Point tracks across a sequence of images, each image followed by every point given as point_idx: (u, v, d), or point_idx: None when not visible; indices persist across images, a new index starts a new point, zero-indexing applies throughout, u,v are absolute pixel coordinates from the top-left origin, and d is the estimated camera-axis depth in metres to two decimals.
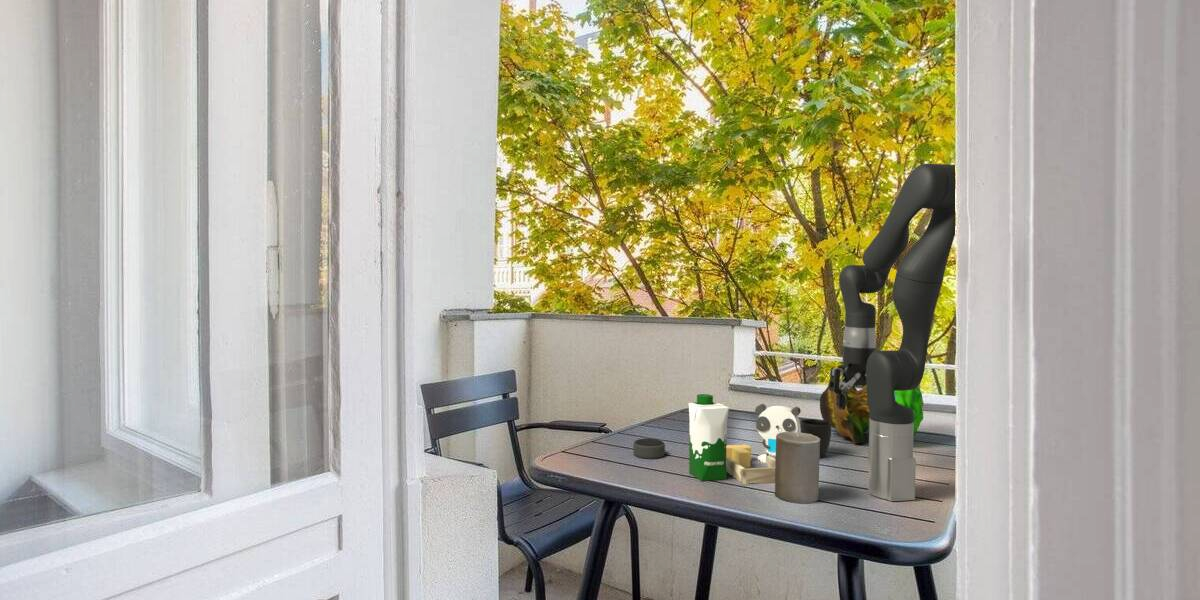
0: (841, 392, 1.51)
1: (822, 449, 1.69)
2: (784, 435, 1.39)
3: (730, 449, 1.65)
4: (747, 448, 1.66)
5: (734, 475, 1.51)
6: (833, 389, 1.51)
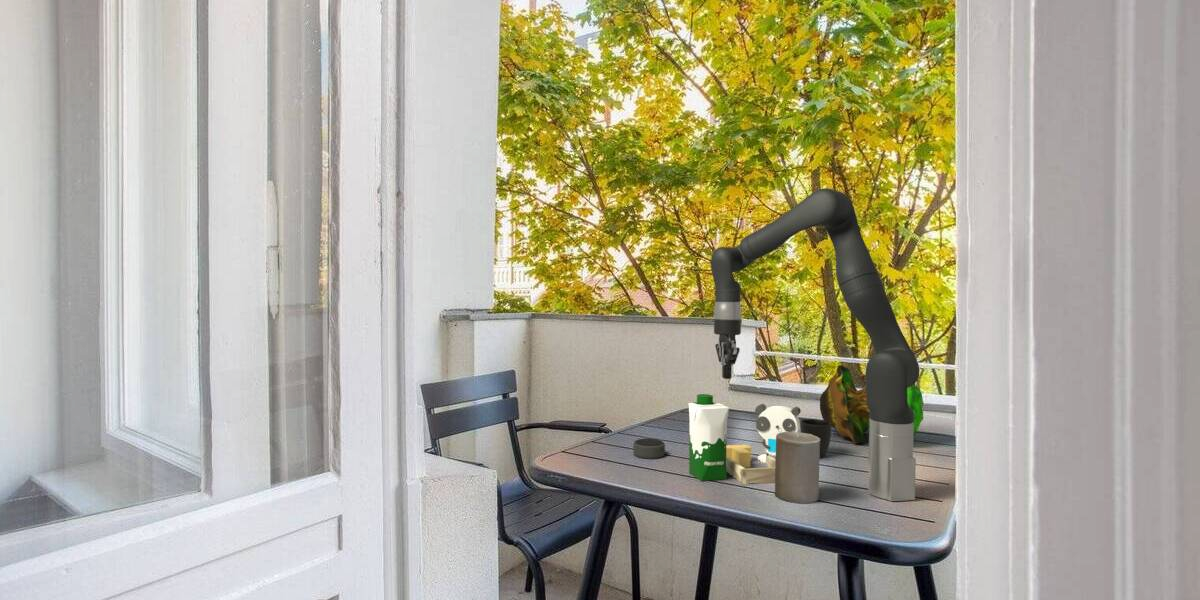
0: None
1: (822, 449, 1.69)
2: (784, 435, 1.39)
3: (730, 449, 1.65)
4: (747, 448, 1.66)
5: (734, 475, 1.51)
6: (733, 363, 1.70)
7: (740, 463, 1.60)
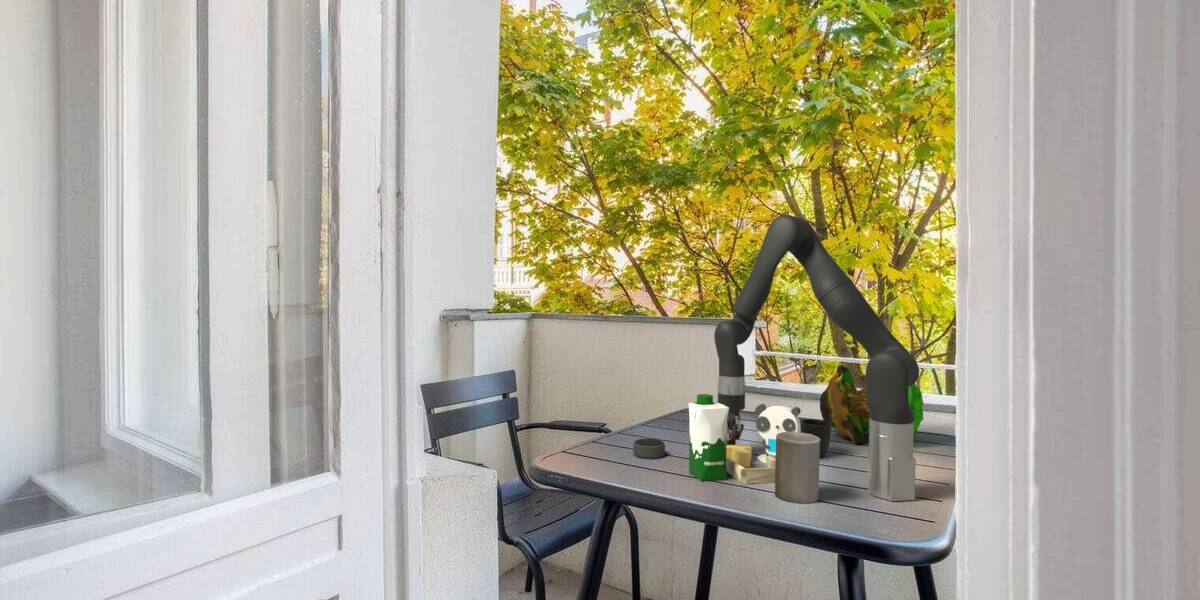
0: None
1: (822, 449, 1.69)
2: (784, 435, 1.39)
3: (730, 449, 1.65)
4: (747, 448, 1.65)
5: (734, 475, 1.51)
6: (737, 438, 1.67)
7: (740, 463, 1.60)
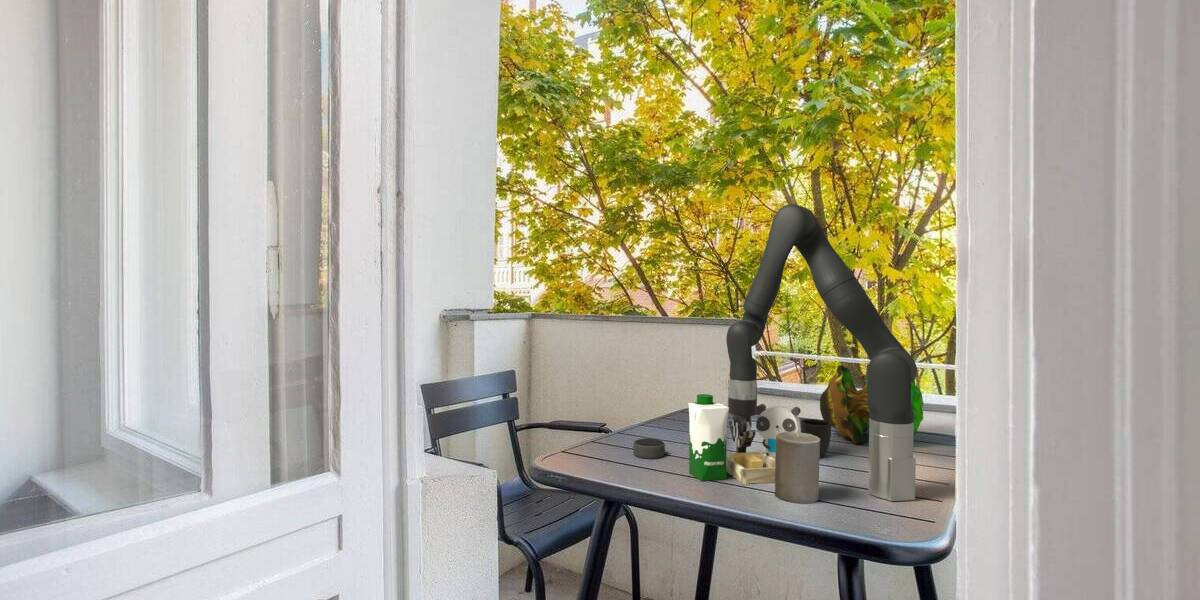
0: None
1: (822, 449, 1.69)
2: (784, 435, 1.39)
3: (741, 457, 1.57)
4: (759, 456, 1.58)
5: (734, 475, 1.51)
6: (748, 445, 1.59)
7: None
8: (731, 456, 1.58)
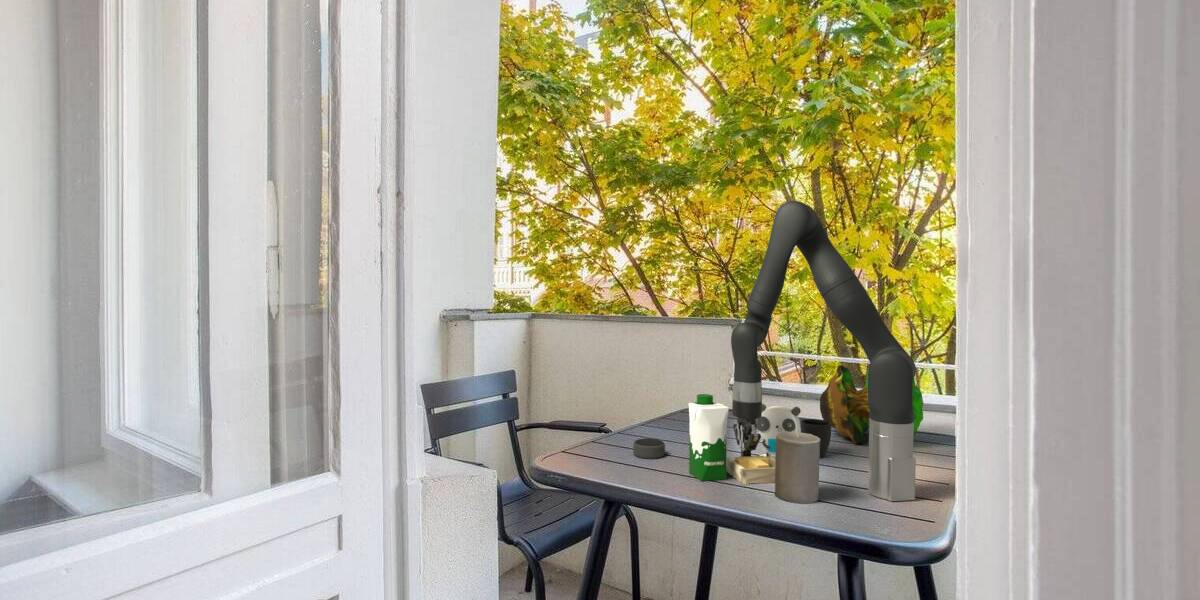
0: None
1: (822, 449, 1.69)
2: (784, 435, 1.39)
3: (746, 461, 1.53)
4: (764, 460, 1.54)
5: (734, 475, 1.51)
6: (754, 449, 1.56)
7: None
8: (736, 460, 1.55)
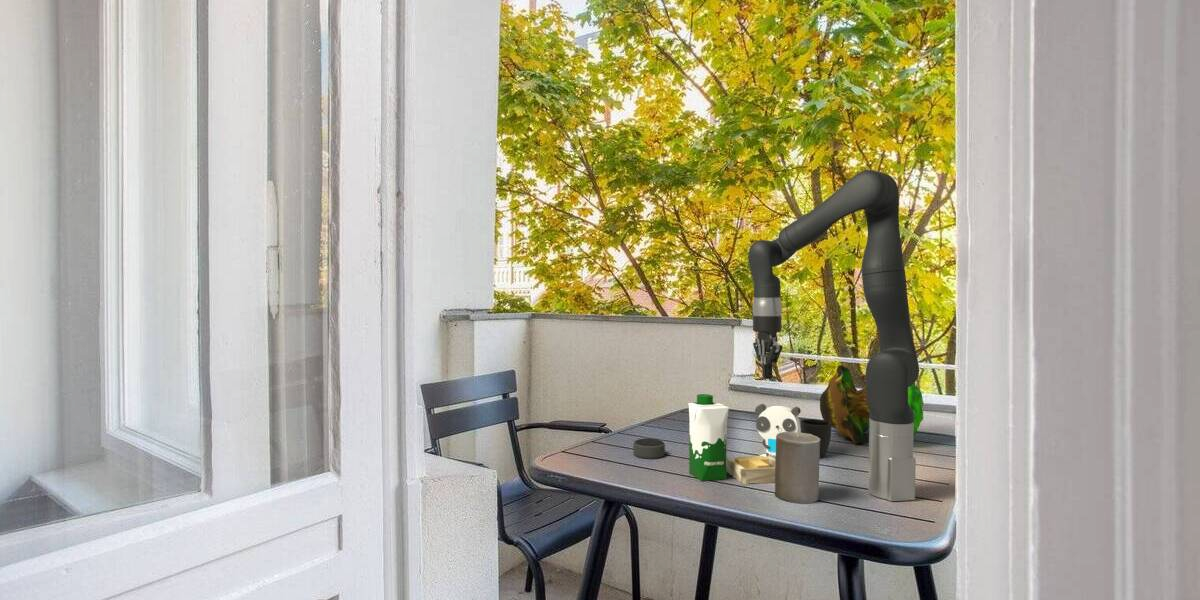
0: None
1: (822, 449, 1.69)
2: (784, 435, 1.39)
3: (746, 461, 1.53)
4: (764, 460, 1.54)
5: (734, 475, 1.51)
6: (775, 361, 1.62)
7: None
8: (736, 460, 1.55)
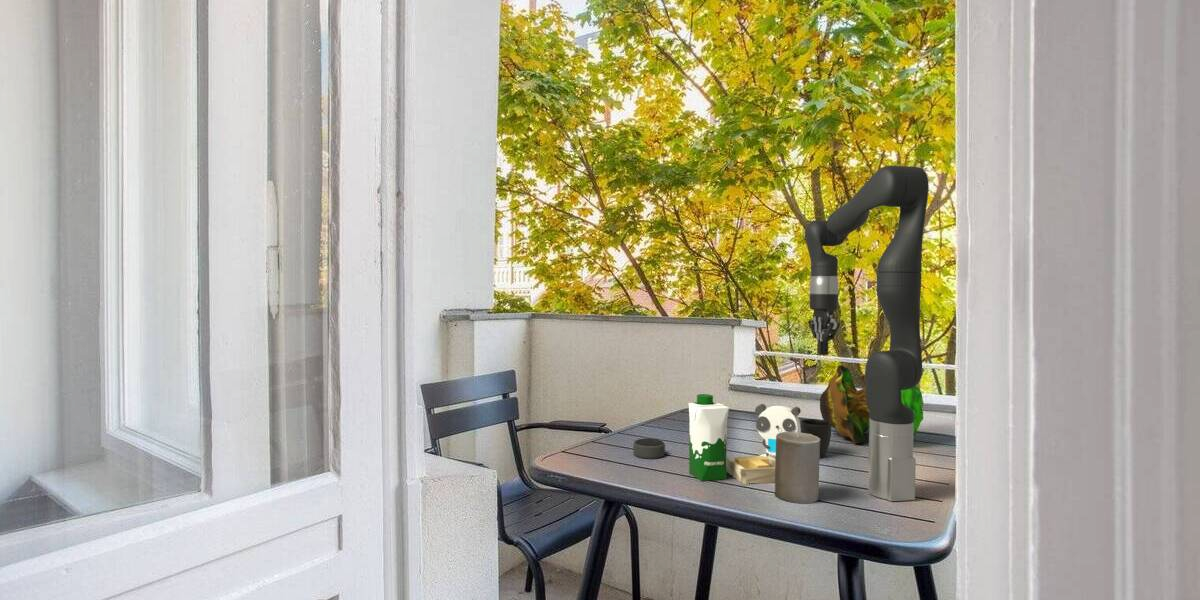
0: None
1: (822, 449, 1.69)
2: (784, 435, 1.39)
3: (746, 461, 1.53)
4: (764, 460, 1.54)
5: (734, 475, 1.51)
6: (832, 338, 1.66)
7: None
8: (736, 460, 1.55)
